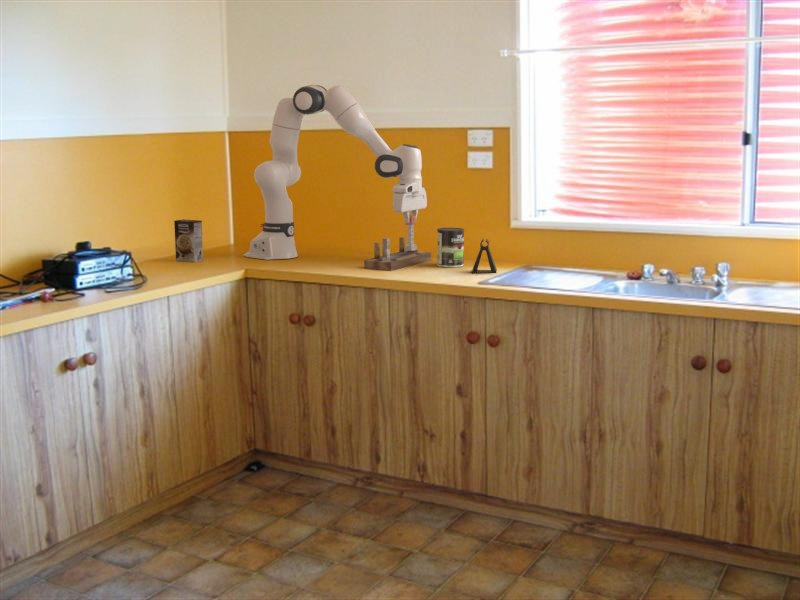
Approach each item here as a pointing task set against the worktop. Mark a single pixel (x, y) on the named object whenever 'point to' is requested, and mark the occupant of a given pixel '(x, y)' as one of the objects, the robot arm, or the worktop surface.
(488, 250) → the black clip stand
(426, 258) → the bolt plate
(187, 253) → the coffee box
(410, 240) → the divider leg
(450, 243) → the coffee can
